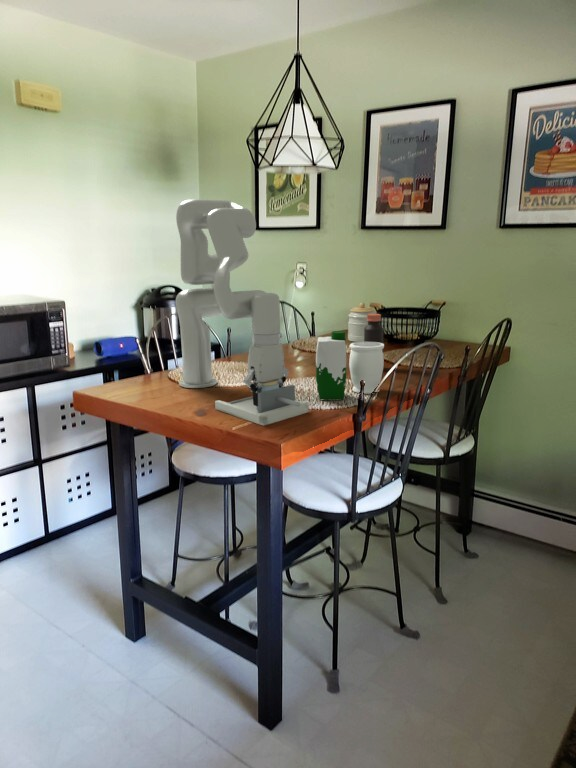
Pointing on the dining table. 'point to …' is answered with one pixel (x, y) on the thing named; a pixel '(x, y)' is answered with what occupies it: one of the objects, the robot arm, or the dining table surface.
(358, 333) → the jar
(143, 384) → the dining table surface
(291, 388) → the pusher
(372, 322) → the bottle
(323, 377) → the milk carton
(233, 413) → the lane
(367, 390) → the jar
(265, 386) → the glazed jar
